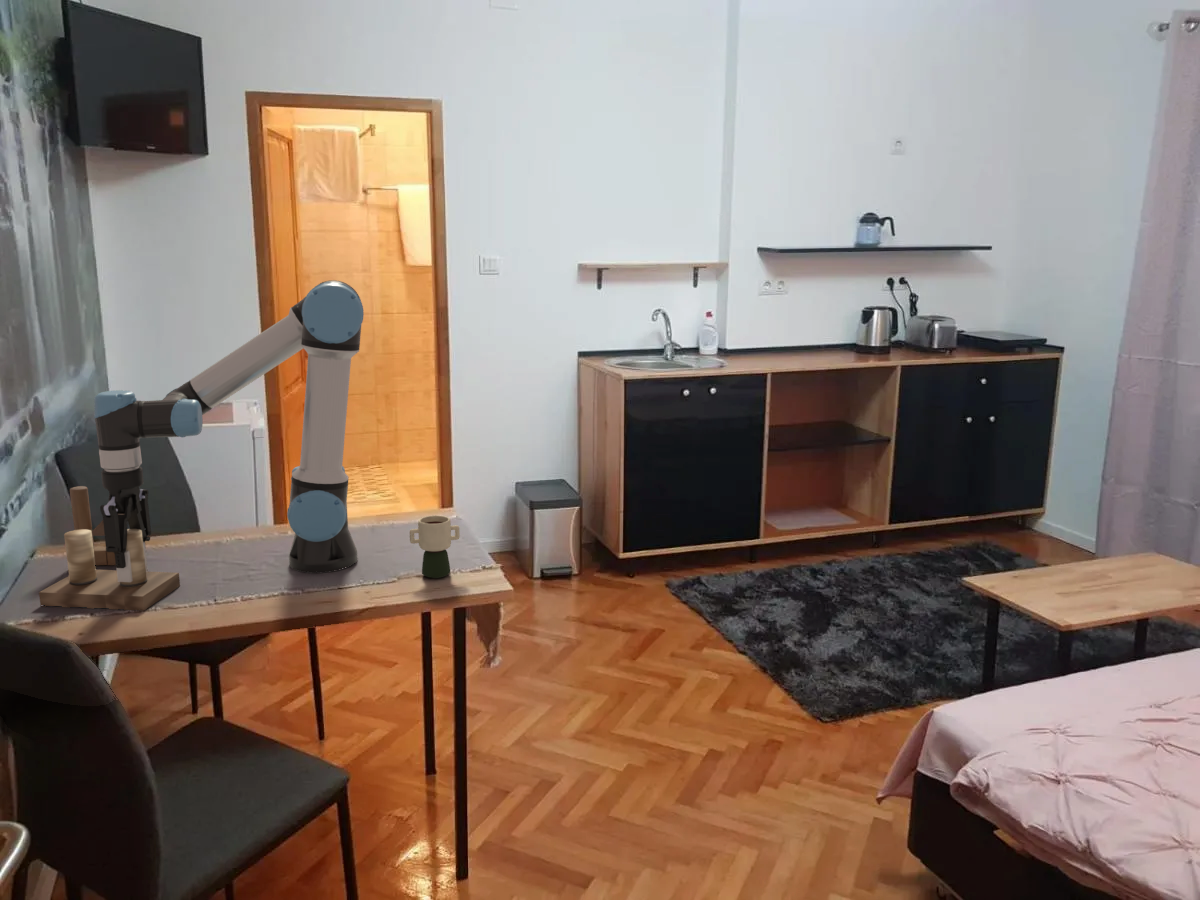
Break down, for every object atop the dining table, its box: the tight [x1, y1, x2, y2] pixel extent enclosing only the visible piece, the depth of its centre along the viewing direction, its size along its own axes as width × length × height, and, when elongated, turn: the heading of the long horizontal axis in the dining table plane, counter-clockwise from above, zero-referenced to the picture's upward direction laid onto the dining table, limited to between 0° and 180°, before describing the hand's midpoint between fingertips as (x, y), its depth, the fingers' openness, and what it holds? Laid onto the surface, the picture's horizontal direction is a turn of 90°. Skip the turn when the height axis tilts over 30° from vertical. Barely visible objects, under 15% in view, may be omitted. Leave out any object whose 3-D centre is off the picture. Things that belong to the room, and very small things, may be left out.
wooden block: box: [69, 485, 124, 566], centre depth 218 cm, size 4×11×18 cm, turn 95°
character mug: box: [409, 514, 461, 579], centre depth 212 cm, size 11×7×13 cm, turn 108°
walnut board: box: [38, 529, 181, 612], centre depth 199 cm, size 22×14×14 cm, turn 85°
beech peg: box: [120, 528, 147, 587], centre depth 199 cm, size 5×5×14 cm
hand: (133, 576), depth 199 cm, fingers closed on beech peg, 5 cm apart
